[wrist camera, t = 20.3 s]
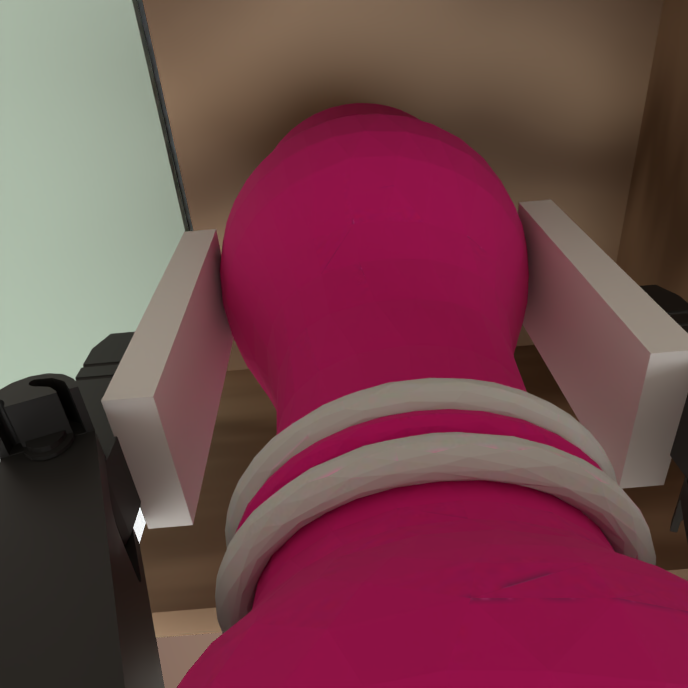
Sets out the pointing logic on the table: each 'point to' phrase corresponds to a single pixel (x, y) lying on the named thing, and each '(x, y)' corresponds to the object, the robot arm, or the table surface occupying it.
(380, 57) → the crate
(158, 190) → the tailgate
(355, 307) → the pepper mill
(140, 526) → the table surface
